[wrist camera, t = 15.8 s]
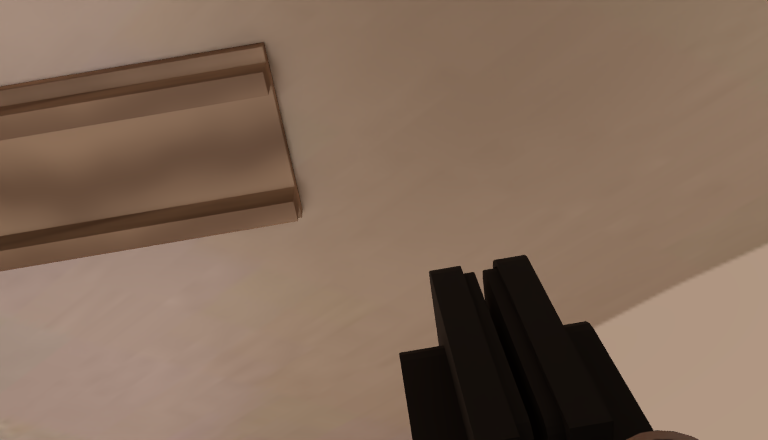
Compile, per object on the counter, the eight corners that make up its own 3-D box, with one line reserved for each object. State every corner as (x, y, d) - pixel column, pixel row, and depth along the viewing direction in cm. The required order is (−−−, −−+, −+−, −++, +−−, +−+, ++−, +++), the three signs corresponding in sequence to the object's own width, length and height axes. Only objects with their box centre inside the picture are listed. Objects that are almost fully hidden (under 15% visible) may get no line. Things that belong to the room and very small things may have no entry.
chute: (-262, 130, 36) (-354, 172, 31) (263, 42, 36) (254, 69, 31) (-164, 288, 40) (-230, 345, 36) (302, 209, 41) (299, 256, 36)
